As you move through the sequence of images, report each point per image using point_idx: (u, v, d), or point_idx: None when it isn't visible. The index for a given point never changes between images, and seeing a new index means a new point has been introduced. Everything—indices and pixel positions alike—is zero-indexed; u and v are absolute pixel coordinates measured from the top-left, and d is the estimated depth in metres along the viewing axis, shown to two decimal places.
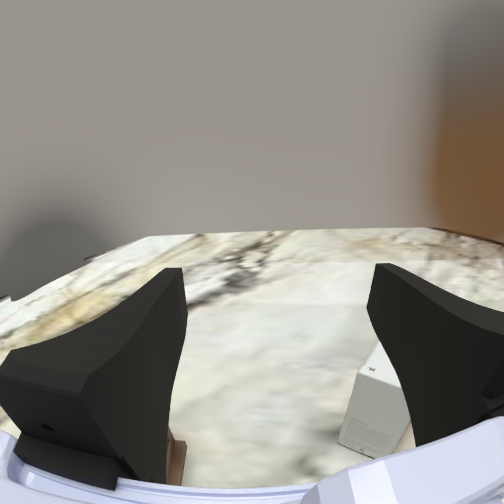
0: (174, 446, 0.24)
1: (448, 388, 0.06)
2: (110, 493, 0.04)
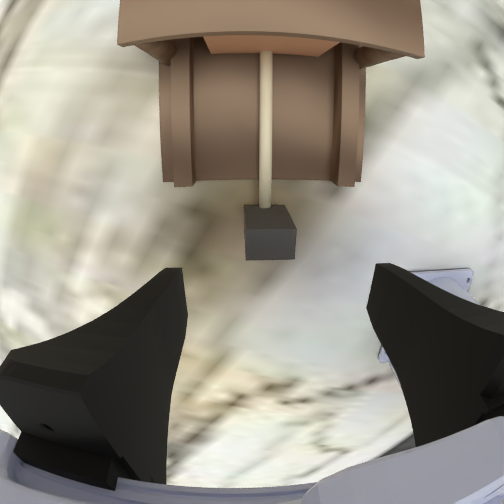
0: None
1: (448, 388, 0.06)
2: (110, 493, 0.04)
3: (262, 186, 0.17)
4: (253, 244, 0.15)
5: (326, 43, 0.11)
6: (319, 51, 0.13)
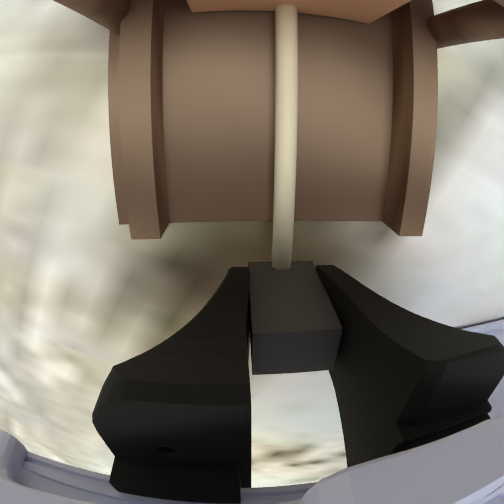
0: None
1: (370, 407, 0.06)
2: None
3: (279, 235, 0.10)
4: (266, 354, 0.08)
5: None
6: (378, 11, 0.06)
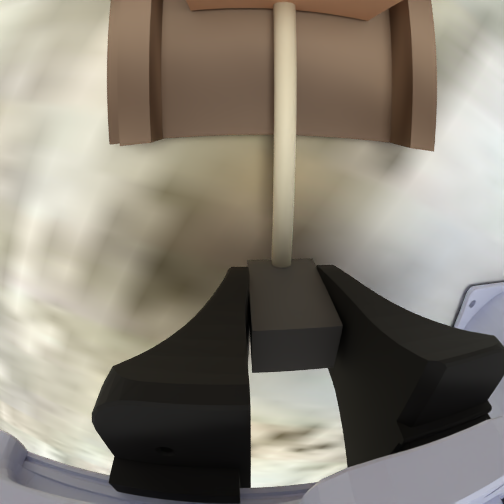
0: None
1: (370, 407, 0.06)
2: None
3: (279, 232, 0.10)
4: (265, 351, 0.08)
5: None
6: (376, 7, 0.06)
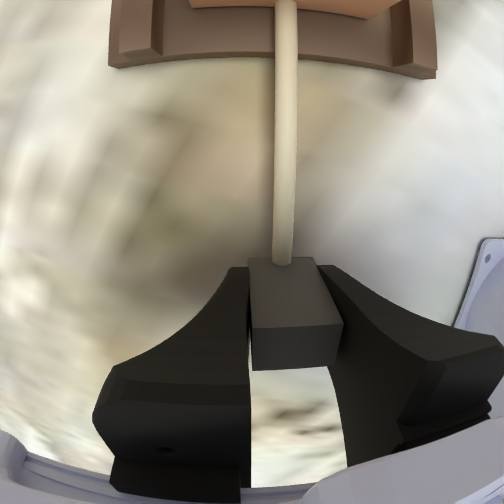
0: None
1: (370, 407, 0.06)
2: None
3: (279, 230, 0.10)
4: (266, 349, 0.08)
5: None
6: (377, 6, 0.06)
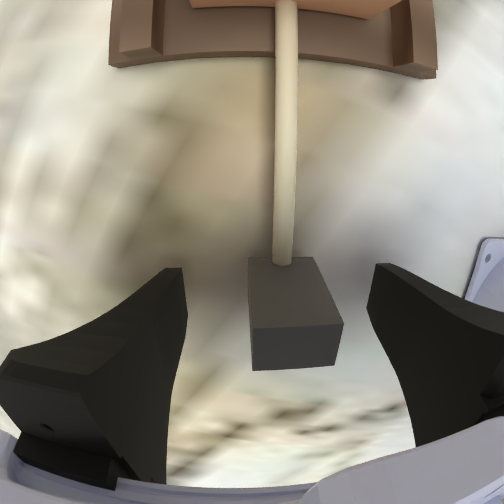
0: None
1: (448, 388, 0.06)
2: (110, 493, 0.04)
3: (279, 230, 0.10)
4: (266, 349, 0.08)
5: None
6: (378, 6, 0.06)
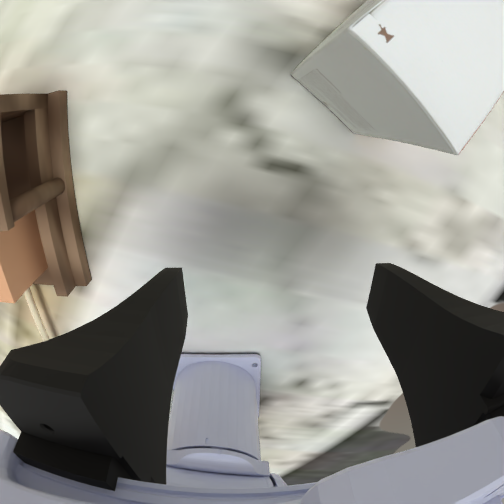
0: (48, 104, 0.15)
1: (448, 388, 0.06)
2: (110, 493, 0.04)
3: None
4: None
5: None
6: None
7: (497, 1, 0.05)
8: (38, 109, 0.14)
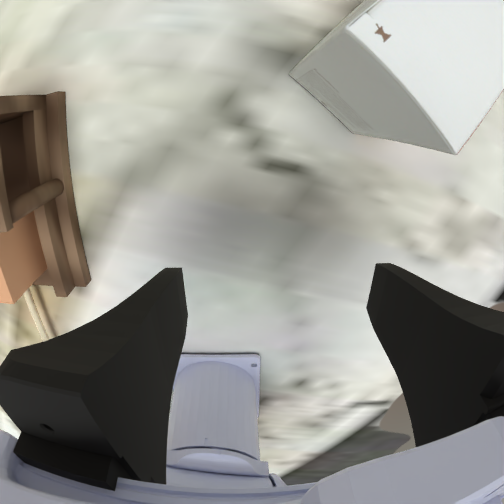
0: (47, 105, 0.15)
1: (448, 388, 0.06)
2: (110, 493, 0.04)
3: None
4: None
5: None
6: None
7: None
8: (36, 110, 0.14)
